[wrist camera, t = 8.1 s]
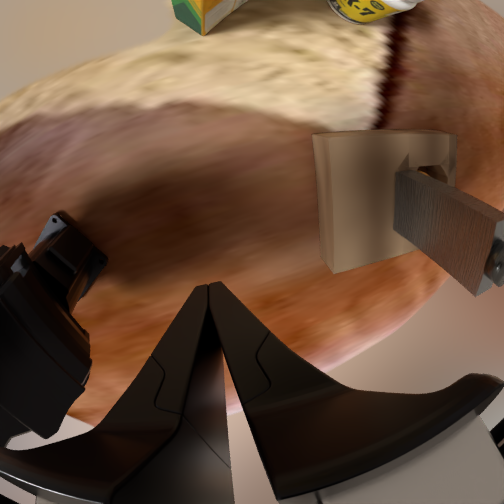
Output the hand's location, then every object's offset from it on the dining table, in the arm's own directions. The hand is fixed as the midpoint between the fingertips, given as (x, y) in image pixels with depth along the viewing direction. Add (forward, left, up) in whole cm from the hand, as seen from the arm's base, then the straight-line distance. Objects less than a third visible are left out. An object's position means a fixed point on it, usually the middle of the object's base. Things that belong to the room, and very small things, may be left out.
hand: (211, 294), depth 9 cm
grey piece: (+12, -11, -10) cm, 19 cm away
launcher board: (+12, -11, -13) cm, 21 cm away
